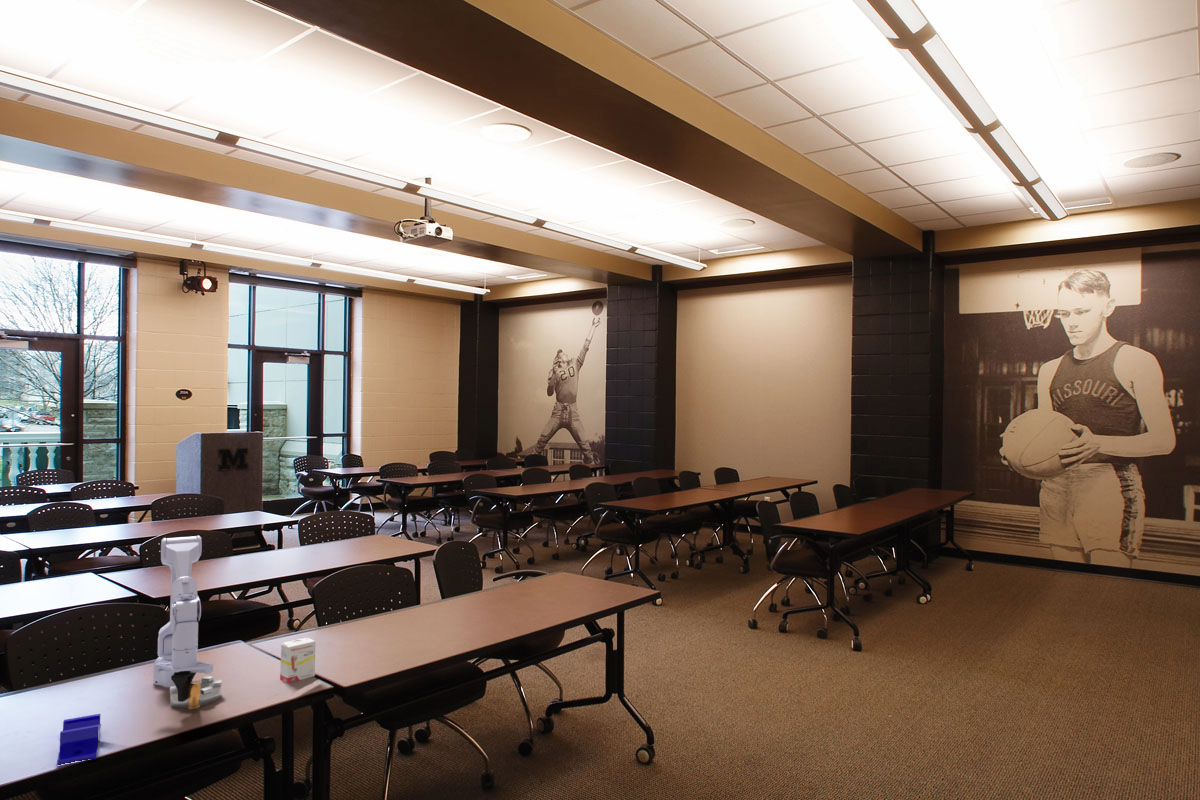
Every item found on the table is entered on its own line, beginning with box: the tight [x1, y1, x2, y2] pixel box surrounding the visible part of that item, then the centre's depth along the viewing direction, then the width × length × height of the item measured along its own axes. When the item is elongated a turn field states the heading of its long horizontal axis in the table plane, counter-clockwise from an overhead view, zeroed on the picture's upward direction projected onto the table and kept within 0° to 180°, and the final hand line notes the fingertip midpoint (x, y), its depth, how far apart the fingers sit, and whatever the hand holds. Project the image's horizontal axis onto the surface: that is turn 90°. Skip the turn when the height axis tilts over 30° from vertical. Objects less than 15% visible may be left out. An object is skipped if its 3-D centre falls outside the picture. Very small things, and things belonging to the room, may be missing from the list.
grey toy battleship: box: [169, 675, 223, 710], centre depth 192 cm, size 17×12×8 cm
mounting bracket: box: [56, 713, 102, 765], centre depth 169 cm, size 18×7×6 cm, turn 32°
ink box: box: [279, 637, 316, 684], centre depth 211 cm, size 9×5×12 cm, turn 137°
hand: (183, 700), depth 185 cm, fingers closed
